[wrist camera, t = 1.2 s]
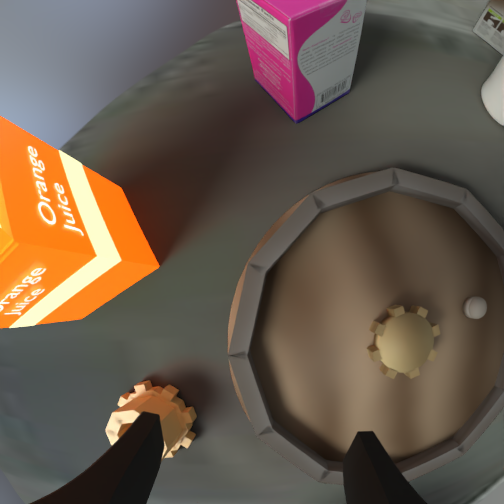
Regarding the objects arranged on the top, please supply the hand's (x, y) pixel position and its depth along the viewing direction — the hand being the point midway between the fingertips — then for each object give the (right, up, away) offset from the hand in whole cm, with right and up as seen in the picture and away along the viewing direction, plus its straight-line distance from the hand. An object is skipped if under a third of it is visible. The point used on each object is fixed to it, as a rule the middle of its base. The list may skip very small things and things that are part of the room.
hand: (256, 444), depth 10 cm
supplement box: (+4, +21, +14) cm, 25 cm away
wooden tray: (+10, +1, +11) cm, 15 cm away
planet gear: (-7, -6, +12) cm, 16 cm away
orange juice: (-13, +7, +14) cm, 20 cm away
